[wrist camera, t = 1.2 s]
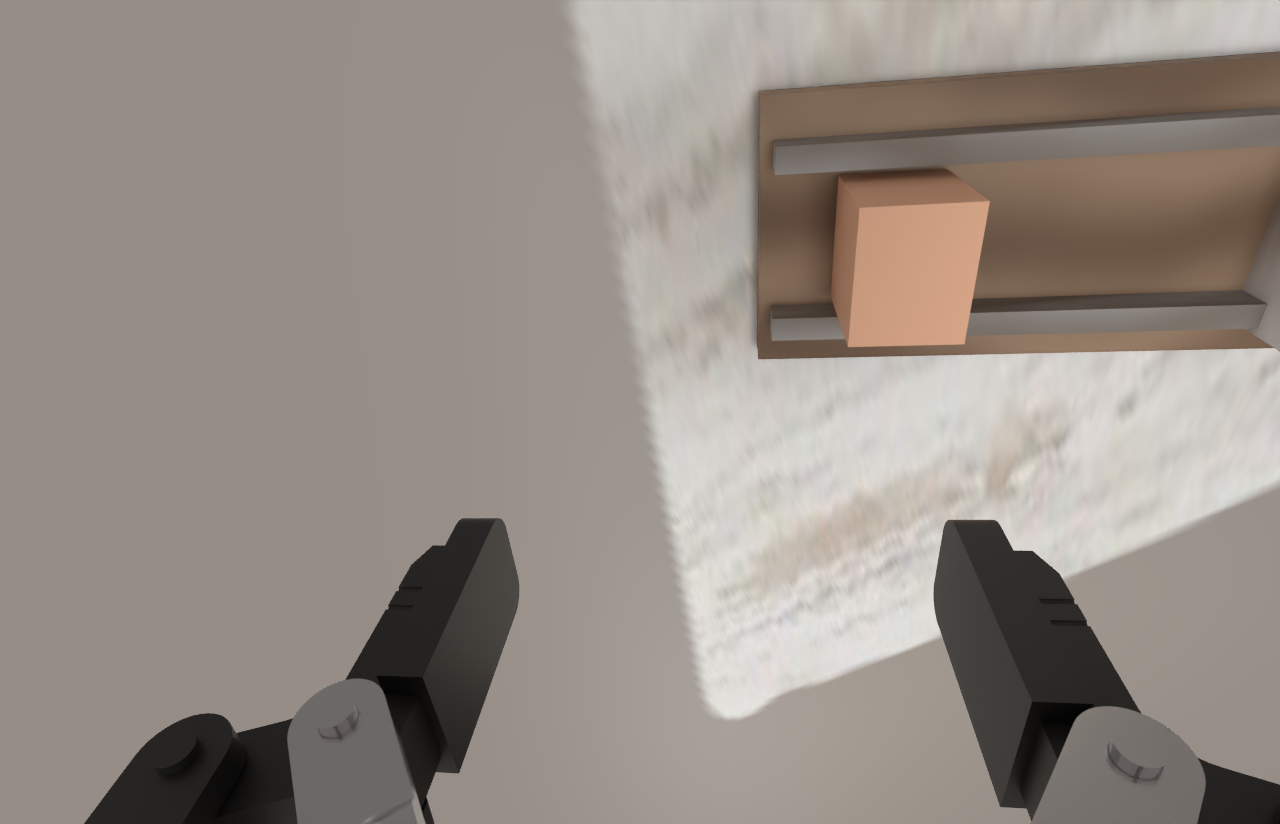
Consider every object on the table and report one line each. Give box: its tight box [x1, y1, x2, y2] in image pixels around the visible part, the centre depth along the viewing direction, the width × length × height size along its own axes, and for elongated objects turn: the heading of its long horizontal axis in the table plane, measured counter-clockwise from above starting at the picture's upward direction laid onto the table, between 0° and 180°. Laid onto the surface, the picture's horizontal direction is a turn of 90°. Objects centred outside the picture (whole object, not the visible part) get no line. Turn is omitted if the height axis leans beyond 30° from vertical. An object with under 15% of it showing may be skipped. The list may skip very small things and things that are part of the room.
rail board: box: [757, 52, 1280, 359], centre depth 26 cm, size 11×22×6 cm, turn 95°
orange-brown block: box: [831, 169, 990, 347], centre depth 25 cm, size 5×4×5 cm
